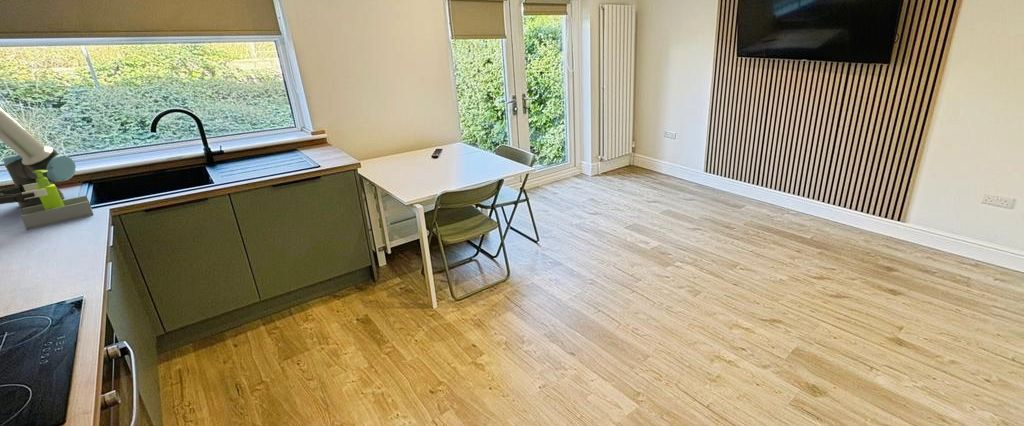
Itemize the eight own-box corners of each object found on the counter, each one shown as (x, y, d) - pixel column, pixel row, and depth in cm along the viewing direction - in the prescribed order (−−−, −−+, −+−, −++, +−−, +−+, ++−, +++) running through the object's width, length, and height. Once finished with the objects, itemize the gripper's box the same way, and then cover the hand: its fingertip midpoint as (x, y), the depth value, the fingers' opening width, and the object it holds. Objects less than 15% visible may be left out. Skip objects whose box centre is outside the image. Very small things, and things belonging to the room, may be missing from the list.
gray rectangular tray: (28, 221, 187) (21, 208, 184) (91, 208, 199) (86, 195, 197) (27, 229, 179) (20, 216, 176) (93, 214, 191) (87, 201, 189)
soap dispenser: (58, 219, 185) (36, 172, 177) (45, 218, 186) (23, 172, 179) (74, 213, 190) (53, 168, 183) (61, 213, 192) (40, 168, 184)
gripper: (-23, 204, 180) (50, 190, 193) (-30, 220, 163) (50, 203, 176) (-33, 186, 177) (42, 173, 190) (-41, 201, 160) (41, 185, 173)
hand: (46, 187), depth 183 cm, fingers open, 13 cm apart
